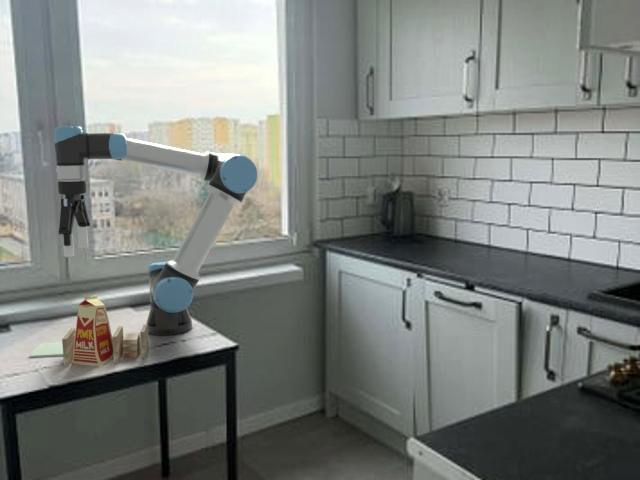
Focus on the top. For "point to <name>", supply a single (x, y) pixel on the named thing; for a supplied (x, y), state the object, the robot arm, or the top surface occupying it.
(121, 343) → the rack
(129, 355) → the block
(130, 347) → the offcut middle
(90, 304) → the milk carton
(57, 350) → the mat
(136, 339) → the offcut top
